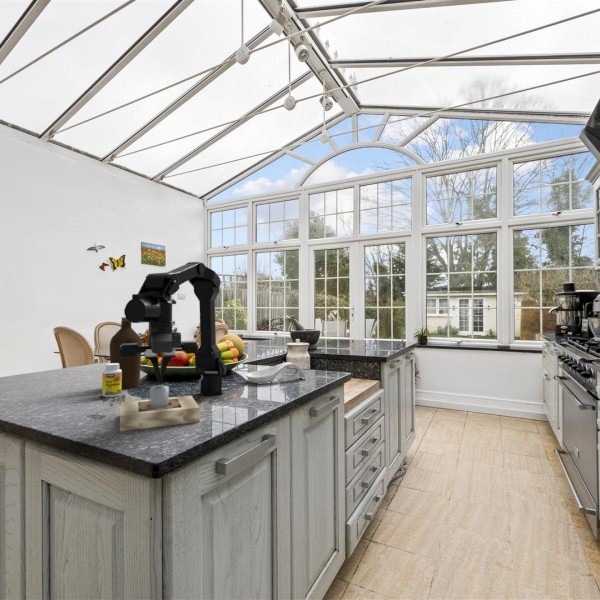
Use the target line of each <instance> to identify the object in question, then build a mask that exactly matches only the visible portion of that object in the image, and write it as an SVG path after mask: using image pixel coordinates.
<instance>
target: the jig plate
mask: <svg viewBox="0 0 600 600" xmlns="http://www.w3.org/2000/svg"><path fill="white" fill-rule="evenodd" d="M200 410H201V409H200V405H198V403H197V402H196V400H195V399H194V398H193V396H192V395H184V396H174V397H173V396H172V397H170V396H169V406H167V407H161V408H150V398H149V399H141V400H128V401H120V412H119V413H120V415H119V416H120V417H119V431H120V432H126V431H133V430H134V431H135V430H139V429H140V430H141V429H142V430H143V429H151V428H156V427H157V428H158V427H165V426H174V425H181V424H191V423H199V422H200V421H201V420H200V417H201V416H200V415H201V414H200V413H201V411H200Z"/></svg>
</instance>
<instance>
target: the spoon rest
mask: <svg viewBox="0 0 600 600" xmlns="http://www.w3.org/2000/svg"><path fill="white" fill-rule="evenodd" d="M288 367H293V368H295V369H296V370H297V371H298V377H299V376H300V377H303V378H305V379H306V374H305V371H304V370H303V368H302V366H300V365H299V364H296V363H294V362H287V361H286V362H282V363H279V364H275V365H274V366H271V367H268V368H263V369H260V370H254V371H251V372H248V373H246V376H245V377H246V378H247V379H248V380H249V382H251V383H253V384H255V383H268V382H271V383H272V382H273V381H275V379H276V378H277V377H278V376H279V374H280V373H281V372H283V370H284V369H286V368H288Z"/></svg>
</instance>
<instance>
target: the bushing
mask: <svg viewBox="0 0 600 600" xmlns="http://www.w3.org/2000/svg"><path fill="white" fill-rule="evenodd" d="M149 389H150V390H149V399H150V408H161V407H167V406H169V398H170V395H169V394H170V386H169V385H155V386H151V387H150V388H149Z"/></svg>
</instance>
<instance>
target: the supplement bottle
mask: <svg viewBox="0 0 600 600" xmlns="http://www.w3.org/2000/svg"><path fill="white" fill-rule="evenodd" d="M121 385H122V370H121V369H119V363H110V362H109V363H106V364H105V370H103V371H102V388H101V389H102V390H101V392H102V394H101V395H102V396H103V398H104V397H105V398H113V397H119V396H121V394H122V389H121Z"/></svg>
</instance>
